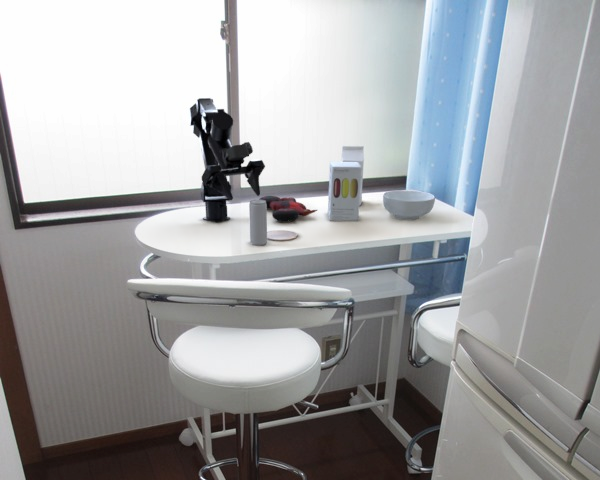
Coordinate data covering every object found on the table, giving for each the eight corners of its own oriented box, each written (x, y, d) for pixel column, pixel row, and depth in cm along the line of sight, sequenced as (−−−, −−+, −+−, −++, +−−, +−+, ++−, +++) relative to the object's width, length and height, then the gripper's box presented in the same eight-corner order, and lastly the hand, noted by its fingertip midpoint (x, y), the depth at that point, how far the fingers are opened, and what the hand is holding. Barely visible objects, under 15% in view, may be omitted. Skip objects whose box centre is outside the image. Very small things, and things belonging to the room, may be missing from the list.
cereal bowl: (441, 221, 220) (443, 199, 216) (392, 224, 216) (394, 202, 212) (420, 209, 234) (422, 188, 230) (374, 212, 230) (375, 190, 227)
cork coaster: (256, 236, 203) (256, 235, 203) (278, 229, 210) (278, 228, 210) (283, 243, 198) (283, 241, 197) (304, 235, 205) (304, 234, 204)
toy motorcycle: (278, 228, 216) (325, 216, 219) (275, 212, 213) (323, 200, 216) (257, 211, 237) (300, 201, 240) (254, 196, 234) (298, 186, 237)
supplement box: (329, 221, 219) (331, 166, 211) (327, 213, 227) (328, 161, 219) (359, 221, 220) (362, 166, 212) (355, 213, 228) (358, 161, 220)
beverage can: (250, 241, 199) (249, 199, 193) (266, 241, 199) (266, 199, 193) (250, 246, 194) (249, 203, 189) (267, 246, 195) (266, 203, 189)
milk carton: (361, 205, 238) (364, 148, 228) (340, 205, 238) (342, 148, 229) (360, 201, 244) (362, 144, 235) (340, 200, 244) (342, 144, 235)
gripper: (204, 135, 186) (227, 184, 183) (260, 129, 196) (283, 176, 193) (191, 161, 195) (213, 208, 193) (246, 154, 205) (268, 199, 203)
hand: (245, 197), depth 195 cm, fingers open, 9 cm apart
